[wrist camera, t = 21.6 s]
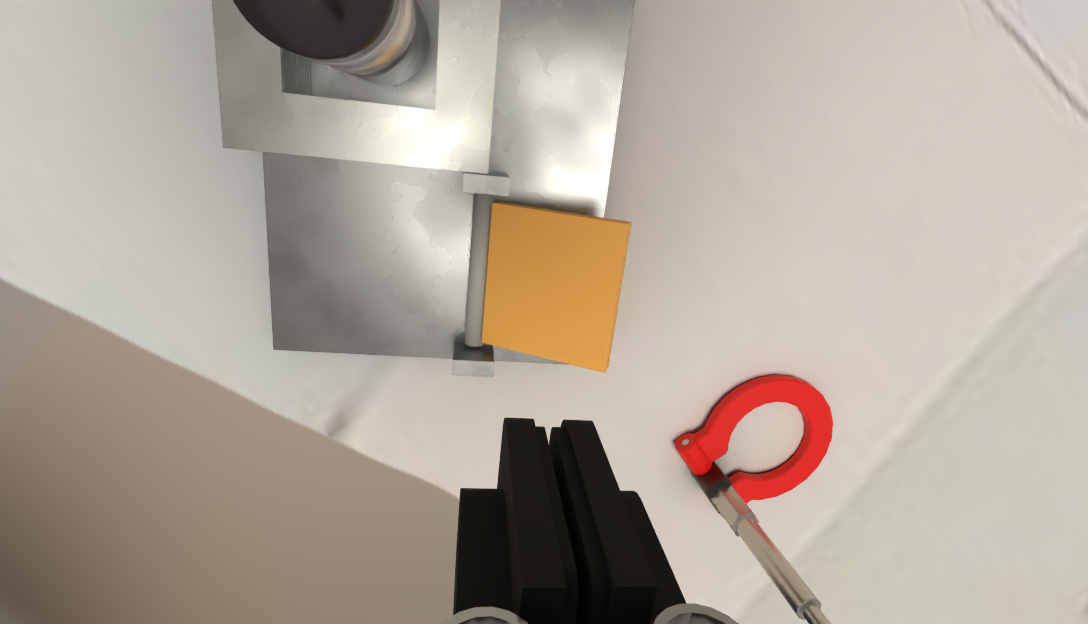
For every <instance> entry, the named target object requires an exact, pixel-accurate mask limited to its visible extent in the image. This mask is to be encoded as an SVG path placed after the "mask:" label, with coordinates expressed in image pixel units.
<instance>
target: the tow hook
mask: <svg viewBox="0 0 1088 624" xmlns="http://www.w3.org/2000/svg"><path fill="white" fill-rule="evenodd" d="M772 402H787V403H790V404H793V405H795V406H797V407H798V408H799V410H800V412H801V413H802V415H803V419H804V423H805V429H804V436H803V439H802V442H801V445H800V446H799V448H798V450H797V451H796V453H795V454H794V455H793V456H792V457H791V458H790V459H789V460H788V461H787V462H786V463H785V464H783V465H782V466H780V467H779V468H777V469H775V470H772V471H770V472H767V473H762V474H747V473H744V472H736V473H735V474H733V475H732V476H730V477H729V478H727V476H726V475H725V474H724V473H723V471H722V470H721V469H720V468H719V466H718V465H717V464H716V463H715V462H714V461H715V460H716V459H718V458H719V457H721V456H722V455H724V454H726V452H727V450H728V443H729V440H730V436H731V434H732V432H733V430H734V428H735V427H736V425H737V423H738V422H739V421H740V420H741V419H742V418H743V417H744V416H745V415H746V414H747V413H749V412H750V411H752V410H753V409H754V408H757V407H759V406H761V405H764V404H766V403H772ZM832 428H833V420H832V415H831V410H830V407H829V405H828V404H827V402H826V400H825V398H824V397H823V395H822V394H821V393H819V392H818V391H817V390H816V389H815V388H813V387H812V386H811V385H810V384H808V383H807V382H805V381H803V380H800V379H798V378H795V377H793V376H786V375H769V376H764V377H758V378H755V379H753V380H751V381H749V382H746V383H744V384H742V385H740V386H739V387H737V388H736V389H734V390H733V391H732V392H730V393H729V394H727V395H726V396H725V397H724V398H723V399H722V400H721V402H720V403H719V404H718V405H717V406H716V407H715V408H714V409H713V411H712V413H711V415H710V417H709V418H708V420H707V422H706V424H705V426H704V428H702V429H701V430H699V431H698V432H696V433H695V434H692V433H686V434H683V435H682V436H680V437H679V438H678V439H677V440H676V442H675V447H676V449H677V451H678V452H679V454H680V455H681V457H682V458H683V459H684V461H685V462H686V464H687V465H688V467H689V468H690V470H691V474H692V475H693V477H694V478H695V480H696V481H697V483H698V484H699V486H700V487H701V489H702V490H703V492H704V493H705V495H706V496H707V497H708V499H709V500H710V502H711V503H712V505H713V506H714V507H715V509H716V510H717V512H718V513H719V514H721V516H722V517H723V518H724V519H725V520H726V522H727V523H728V524H729V526H730V527H731V529H732V530H733V531H734V533H735V534H736V536H740V537H741V538H742V539H743V541H744V542H745V544H746V545H747V546H748V548H749V549H750V551H751V552H752V553H753V555H754V556H755V558H756V559H757V560H758V562H759V563H760V564H761V566H762V567H763V569H764V570H765V571H766V573H767V574H768V576H769V577H770V578H771V580H772V581H773V583H774V584H775V585H776V587H777V588H778V589H779V591H780V592H781V594H782V595H783V596H784V598H785V599H786V601H787V602H788V603H789V605H790V606H791V608H792V609H793V610H794V612H795V613H796V614H797V616H798V617H799V618H801V619H804V620H807V622H808V623H809V624H831V623H830V622H829V620H828V619H827V618H826V617H825V615H824V614H823V613H822V611H821V610H820V608H821V603H820V601H819V600H818V599H817V598H816V596H815V595H814V594H813V593H812V591H811V590H810V589H809V587H808V586H807V585H806V584H805V582H804V581H803V580H802V579H801V577H800V576H799V575H798V574H797V572H796V571H795V570H794V568H793V567H792V566H791V565H790V563H789V562H788V561H787V560H786V558H785V557H784V556H783V555H782V553H781V552H780V551H779V550H778V548H777V547H776V546H775V544H774V543H773V542H772V541H771V539H770V538H769V537H768V536H767V534H766V533H765V532H764V531H763V529H762V528H761V527H760V525H759V524H758V523H759V521H758V519H757V518H756V516H755V515H754V513H753V512H752V511H751V509H750V508H749V507H748V506H747V504H746V503H748V502H749V501H751V500H762V499H767V498H772V497H776V496H778V495H781V494H783V493H785V492H788V491H790V490H792V489H793V488H795V487H796V486H798V485H799V484H800V483H802V482H803V481H805V480H806V479H807V478H808V477H809V476H810V475H811V474H812V473H813V472H814V470H815V469H816V468H817V467H818V466H819V464H820V462H821V461H822V459H823V458H824V456H825V454H826V453H827V450H828V447H829V444H830V441H831V438H832Z"/></svg>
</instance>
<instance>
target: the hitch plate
mask: <svg viewBox="0 0 1088 624" xmlns="http://www.w3.org/2000/svg"><path fill="white" fill-rule="evenodd" d="M417 2H418V4H419V7H420V9H421V11H422V13H423V15H424V17H425V20H426V22H427V26H428V32H429V48H428V52H427V56H426V58H425V61H424V63H423V65H422V66H421V68H420V69H419V70H418V71H417V73H416V74H415V75H413V76H412V77H411V78H410V79H408V80H406V81H404V82H402V83H399V84H394V85H379V84H374V83H371V82H368V81H366V80H363V79H361V78H358V77H355V76H353V75H350V74H347V73H345V72H342V71H340V70H337V69H334V68H332V67H329V66H326V65H324V64H321V63H319V62H316V61H313V60H311V59H308V58H305V57H303V56H300V55H298V54H295V53H292V52H290V51H287V50H285V49H283V48H281V47H279V46H277V45H275V44H274V43H272V42H271V41H269V40H267V39H266V38H265V37H264V36H262V35H261V34H260V33H259V32H257V31H256V30H255V29H254V28H253V27H252V26H251V25H250V24H249V23H248V21H247V20H246V19H245V18H244V16H243V15H242V14H241V13H240V11H239V10H238V8H237V6H236V5H235V3H234V2H233V0H212V8H213V21H214V34H215V47H216V60H217V73H218V86H219V99H220V112H221V125H222V138H223V148H232V149H242V150H252V151H262V152H263V166H264V184H265V202H266V221H267V239H268V257H269V275H270V293H271V312H272V330H273V348H274V350H290V351H310V352H330V353H350V354H370V355H390V356H410V357H431V358H451V359H453V367H452V375H464V376H486V377H493V372H494V361H511V362H531V363H551V364H567V363H563V362H558V361H554V360H550V359H546V358H542V357H538V356H534V355H530V354H526V353H522V352H518V351H514V350H510V349H505V348H501V347H497V346H493V345H489V344H485V343H484V345H482V346H479V347H471V346H468V345H466V344H465V343H464V341H465V325H466V310H467V294H468V279H469V264H470V248H471V233H472V218H473V202H474V193H479V194H490V195H495V202H498V201H501V202H507V203H513V204H520V205H526V206H532V207H539V208H545V209H551V210H558V211H564V212H570V213H577V214H583V215H589V216H596V217H602V218H604V212H605V205H606V198H607V191H608V184H609V177H610V169H611V162H612V155H613V148H614V141H615V134H616V127H617V120H618V113H619V106H620V99H621V92H622V85H623V78H624V70H625V63H626V56H627V49H628V42H629V35H630V28H631V21H632V14H633V7H634V0H417Z"/></svg>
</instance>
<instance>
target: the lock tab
mask: <svg viewBox="0 0 1088 624" xmlns="http://www.w3.org/2000/svg"><path fill="white" fill-rule="evenodd" d="M630 227H631V222H627V221H621V220H615V219H608V218H602V217H596V216H589V215H583V214H577V213H570V212H564V211H558V210H551V209H545V208H539V207H532V206H526V205H520V204H513V203H507V202H501V201H498V202H495V195H490V194H479V193H474V202H473V218H472V233H471V248H470V264H469V279H468V294H467V310H466V325H465V341H464V343H465V344H466V345H468V346H471V347H479V346H482V345H484V343H485V344H489V345H493V346H497V347H501V348H505V349H510V350H514V351H518V352H522V353H526V354H530V355H534V356H538V357H542V358H546V359H550V360H554V361H558V362H563V363H567V364H571V365H575V366H579V367H583V368H587V369H591V370H595V371H599V372H603V373H605V371H606V370H607V368H608V367H609V360H610V354H611V348H612V341H613V335H614V329H615V322H616V316H617V310H618V303H619V297H620V291H621V284H622V278H623V272H624V265H625V259H626V253H627V246H628V240H629V234H630Z"/></svg>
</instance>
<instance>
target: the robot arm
mask: <svg viewBox="0 0 1088 624" xmlns="http://www.w3.org/2000/svg"><path fill="white" fill-rule="evenodd" d="M453 611H454V612H453V616H452V617H450V618H449V619H447V620H445V621H444V622H443V623H442V624H738V623H737V622H735V621H734V620H733V619H731V618H730V617H729V616H727V615H725V614H723V613H721V612H719V611H717V610H715V609H713V608H711V607H707V606H702V605H698V604H686V601H685V599H684V597H683V594H682V592H681V590H680V588H679V585H678V583H677V581H676V578H675V576H674V574H673V572H672V569H671V567H670V565H669V562H668V560H667V558H666V556H665V553H664V551H663V549H662V546H661V544H660V542H659V540H658V537H657V535H656V533H655V530H654V528H653V526H652V524H651V521H650V519H649V517H648V514H647V512H646V510H645V508H644V505H643V503H642V501H641V499H640V497H639V495H638V494H637V493H636V492H635V491H620V489H619V487H618V484H617V482H616V479H615V476H614V474H613V471H612V469H611V466H610V464H609V461H608V459H607V456H606V453H605V451H604V448H603V446H602V443H601V441H600V438H599V436H598V433H597V430H596V428H595V425H594V423H593V421H583V420H563V421H562V424H561V427H552V429H551V434H550V441H549V444H548V440H547V435H546V431H545V427H536V426H535V422H534V419H526V418H504V423H503V432H502V442H501V453H500V463H499V474H498V485H497V489H473V488H461V490H460V503H459V517H458V533H457V550H456V567H455V588H454V610H453Z"/></svg>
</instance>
